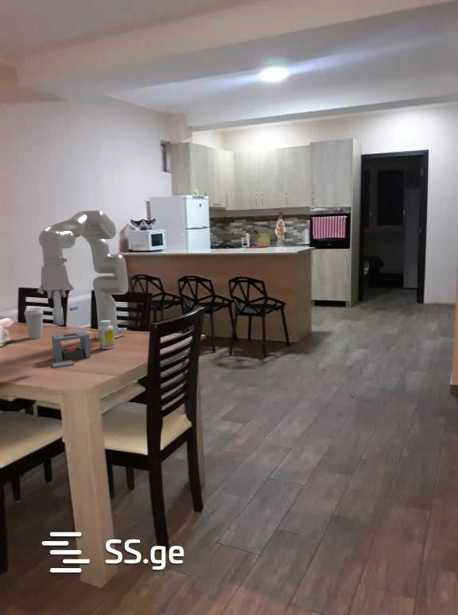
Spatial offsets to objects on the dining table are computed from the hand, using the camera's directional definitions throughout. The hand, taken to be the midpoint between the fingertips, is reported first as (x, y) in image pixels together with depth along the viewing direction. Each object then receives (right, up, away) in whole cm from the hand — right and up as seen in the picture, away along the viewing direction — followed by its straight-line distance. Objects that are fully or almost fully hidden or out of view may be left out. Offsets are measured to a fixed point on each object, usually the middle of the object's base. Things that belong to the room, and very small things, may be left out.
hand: (57, 306), depth 204 cm
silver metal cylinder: (0, -7, +1) cm, 7 cm away
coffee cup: (-31, -16, +59) cm, 69 cm away
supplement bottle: (+13, -19, +32) cm, 39 cm away
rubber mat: (+1, -24, +4) cm, 24 cm away
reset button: (+1, -21, +15) cm, 26 cm away
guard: (+1, -22, +16) cm, 27 cm away
